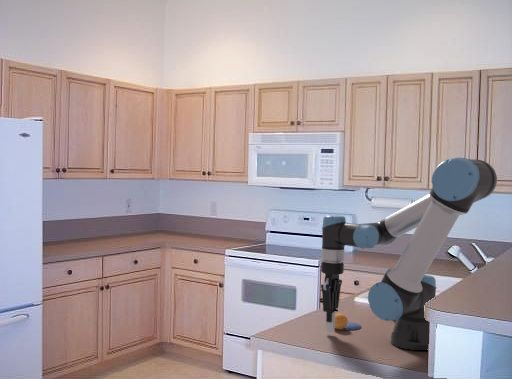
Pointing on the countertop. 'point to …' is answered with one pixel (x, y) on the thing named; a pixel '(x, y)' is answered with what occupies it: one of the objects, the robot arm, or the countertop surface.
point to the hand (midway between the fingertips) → (330, 330)
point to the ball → (340, 321)
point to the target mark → (352, 326)
